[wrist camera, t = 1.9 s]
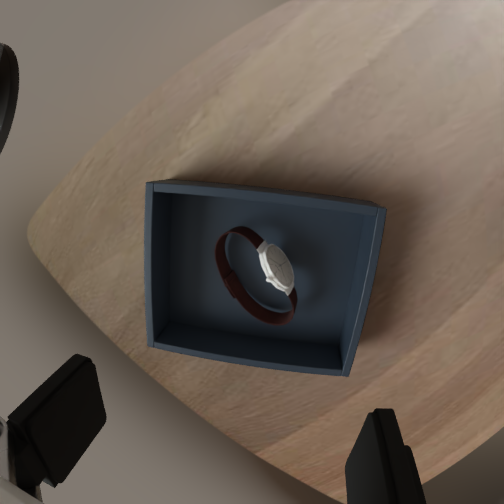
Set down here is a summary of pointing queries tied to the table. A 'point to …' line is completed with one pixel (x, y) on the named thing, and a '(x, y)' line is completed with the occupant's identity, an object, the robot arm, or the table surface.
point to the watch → (273, 267)
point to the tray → (258, 274)
